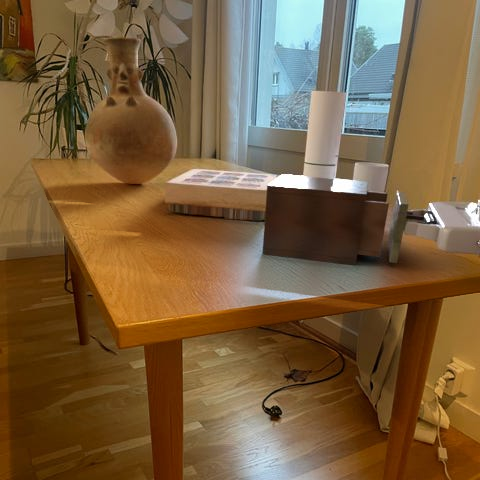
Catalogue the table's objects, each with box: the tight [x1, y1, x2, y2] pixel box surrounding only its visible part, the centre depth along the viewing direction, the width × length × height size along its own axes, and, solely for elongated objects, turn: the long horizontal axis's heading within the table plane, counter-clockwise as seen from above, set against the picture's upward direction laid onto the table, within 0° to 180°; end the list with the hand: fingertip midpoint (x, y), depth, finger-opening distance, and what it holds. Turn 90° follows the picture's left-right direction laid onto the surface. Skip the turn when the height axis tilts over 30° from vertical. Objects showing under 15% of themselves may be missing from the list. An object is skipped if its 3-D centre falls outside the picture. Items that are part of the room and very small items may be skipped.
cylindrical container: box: [302, 90, 347, 179], centre depth 104 cm, size 7×7×25 cm
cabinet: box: [262, 174, 368, 266], centre depth 80 cm, size 15×13×11 cm
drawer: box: [357, 190, 437, 264], centre depth 78 cm, size 19×12×9 cm, turn 75°
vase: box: [84, 36, 178, 185], centre depth 125 cm, size 24×24×35 cm
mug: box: [352, 161, 390, 193], centre depth 101 cm, size 10×7×12 cm, turn 161°
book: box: [164, 168, 279, 222], centre depth 110 cm, size 25×6×28 cm
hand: (402, 221), depth 76 cm, fingers open, 8 cm apart
